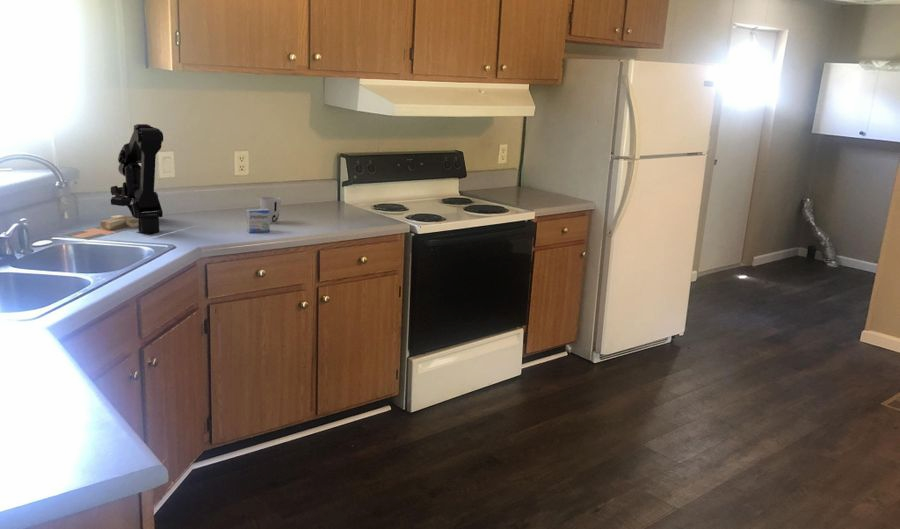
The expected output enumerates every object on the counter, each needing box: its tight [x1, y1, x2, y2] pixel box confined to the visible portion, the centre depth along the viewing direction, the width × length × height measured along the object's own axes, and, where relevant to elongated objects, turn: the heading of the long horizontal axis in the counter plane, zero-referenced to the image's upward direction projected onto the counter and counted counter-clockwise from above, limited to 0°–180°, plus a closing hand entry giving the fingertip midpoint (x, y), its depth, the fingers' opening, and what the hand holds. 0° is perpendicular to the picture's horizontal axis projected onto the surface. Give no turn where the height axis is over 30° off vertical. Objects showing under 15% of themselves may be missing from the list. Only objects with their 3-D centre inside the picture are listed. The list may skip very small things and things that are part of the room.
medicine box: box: [245, 208, 271, 234], centre depth 274 cm, size 8×4×9 cm, turn 117°
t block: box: [100, 214, 139, 231], centre depth 266 cm, size 10×12×3 cm
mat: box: [62, 225, 139, 241], centre depth 261 cm, size 12×26×1 cm, turn 161°
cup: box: [259, 196, 281, 225], centre depth 290 cm, size 8×8×10 cm
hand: (136, 220), depth 275 cm, fingers closed
